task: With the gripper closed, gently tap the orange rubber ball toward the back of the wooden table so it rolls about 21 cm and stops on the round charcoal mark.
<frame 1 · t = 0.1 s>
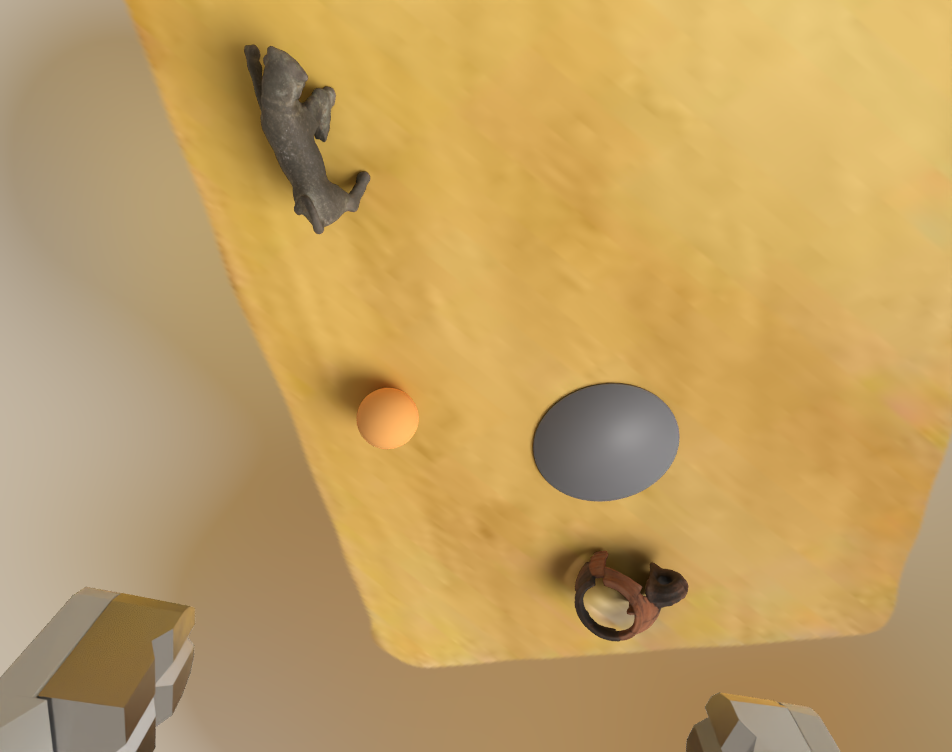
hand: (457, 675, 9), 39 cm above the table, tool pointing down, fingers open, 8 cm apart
dog figurine: (317, 130, 41), on the table
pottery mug: (625, 569, 63), on the table
ball: (387, 418, 50), on the table
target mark: (605, 445, 54), on the table
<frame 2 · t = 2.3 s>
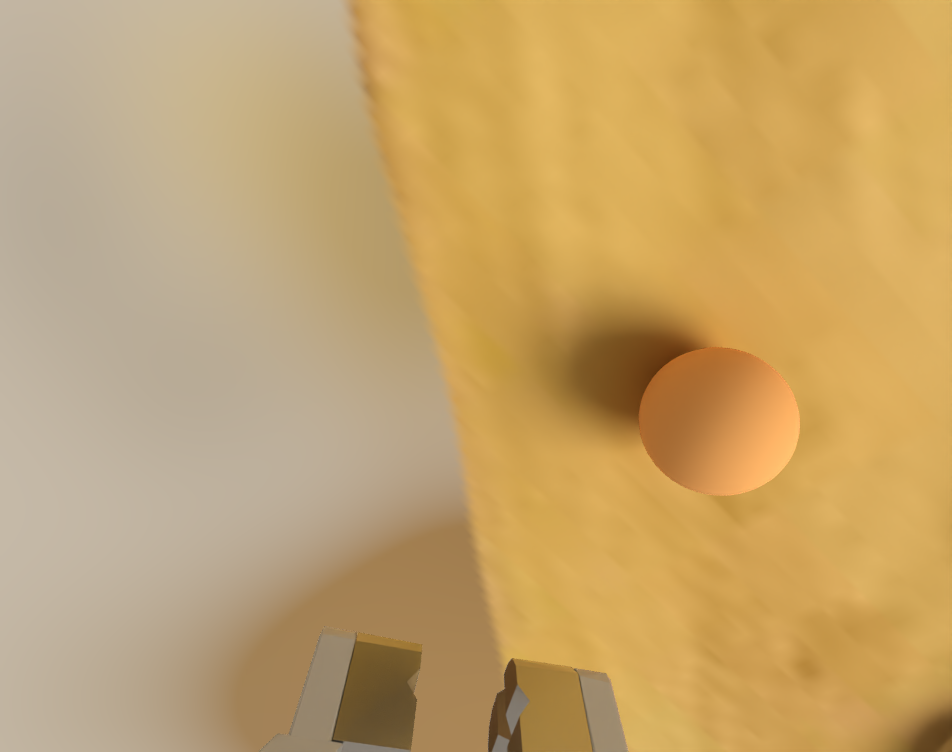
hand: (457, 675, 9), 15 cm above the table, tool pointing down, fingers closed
ball: (715, 420, 21), on the table
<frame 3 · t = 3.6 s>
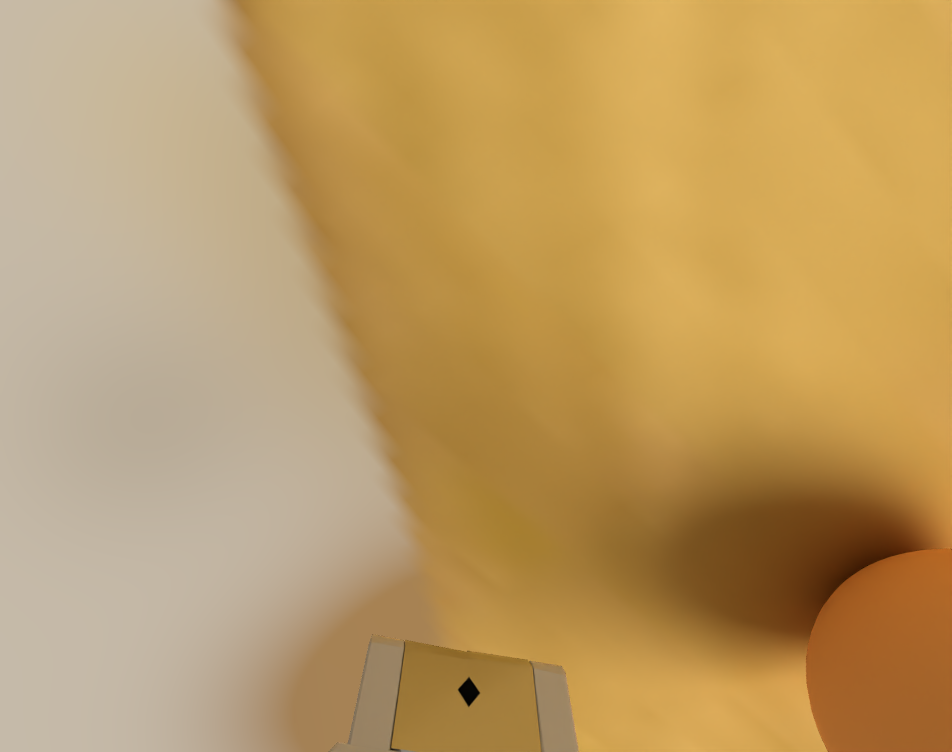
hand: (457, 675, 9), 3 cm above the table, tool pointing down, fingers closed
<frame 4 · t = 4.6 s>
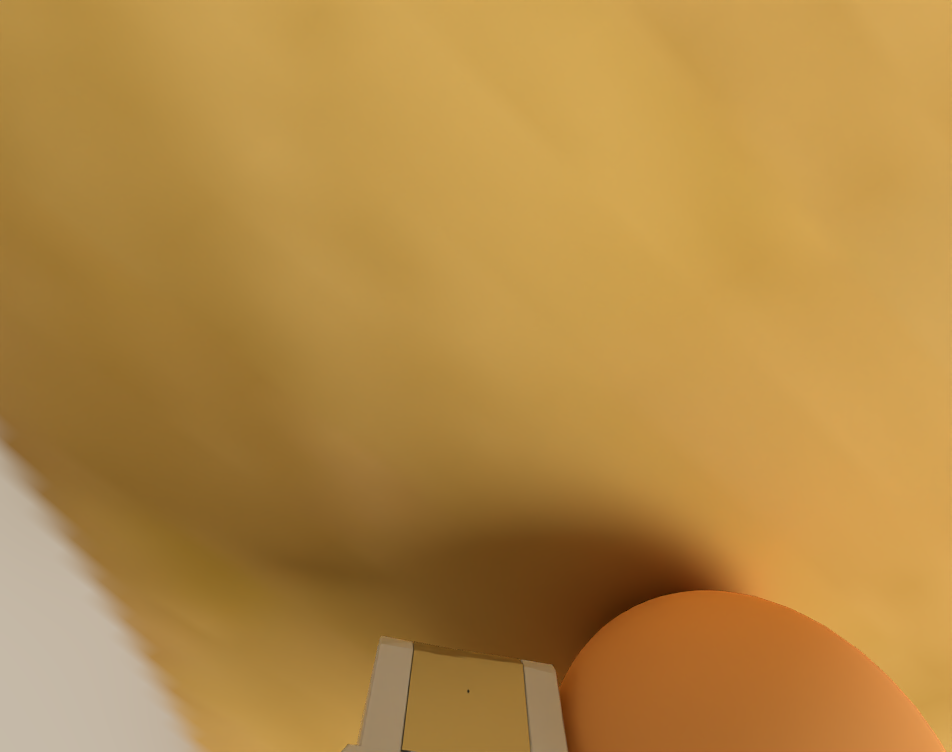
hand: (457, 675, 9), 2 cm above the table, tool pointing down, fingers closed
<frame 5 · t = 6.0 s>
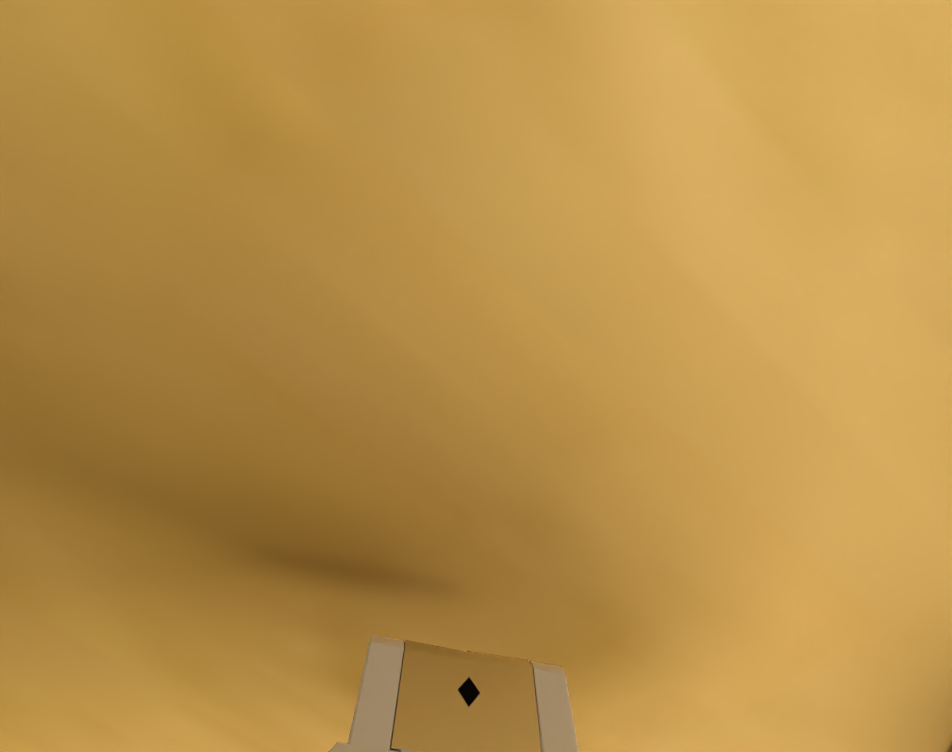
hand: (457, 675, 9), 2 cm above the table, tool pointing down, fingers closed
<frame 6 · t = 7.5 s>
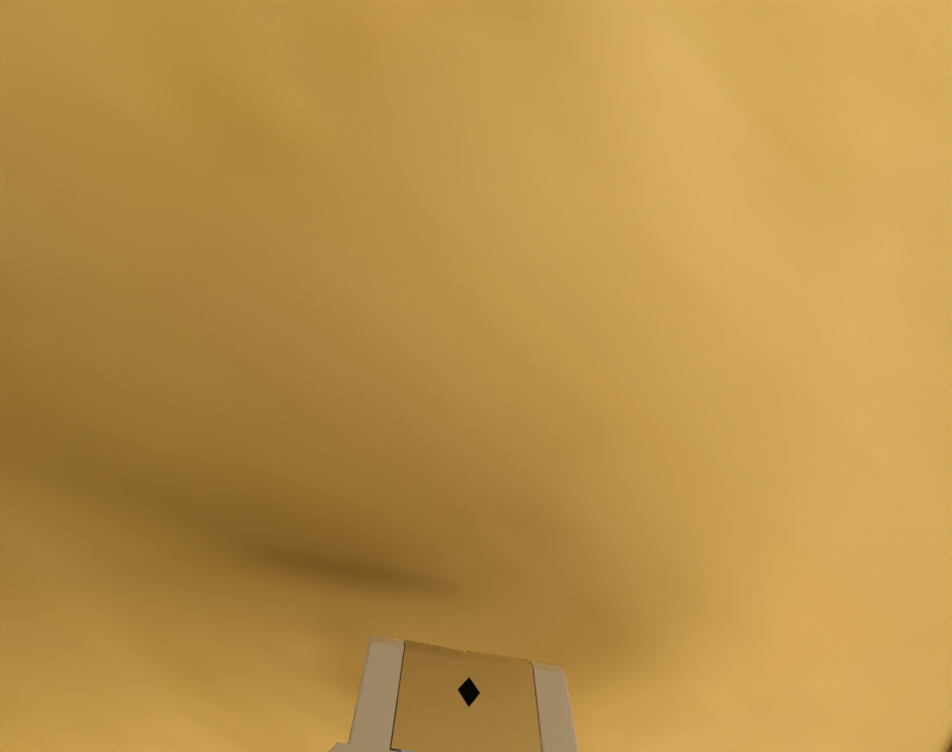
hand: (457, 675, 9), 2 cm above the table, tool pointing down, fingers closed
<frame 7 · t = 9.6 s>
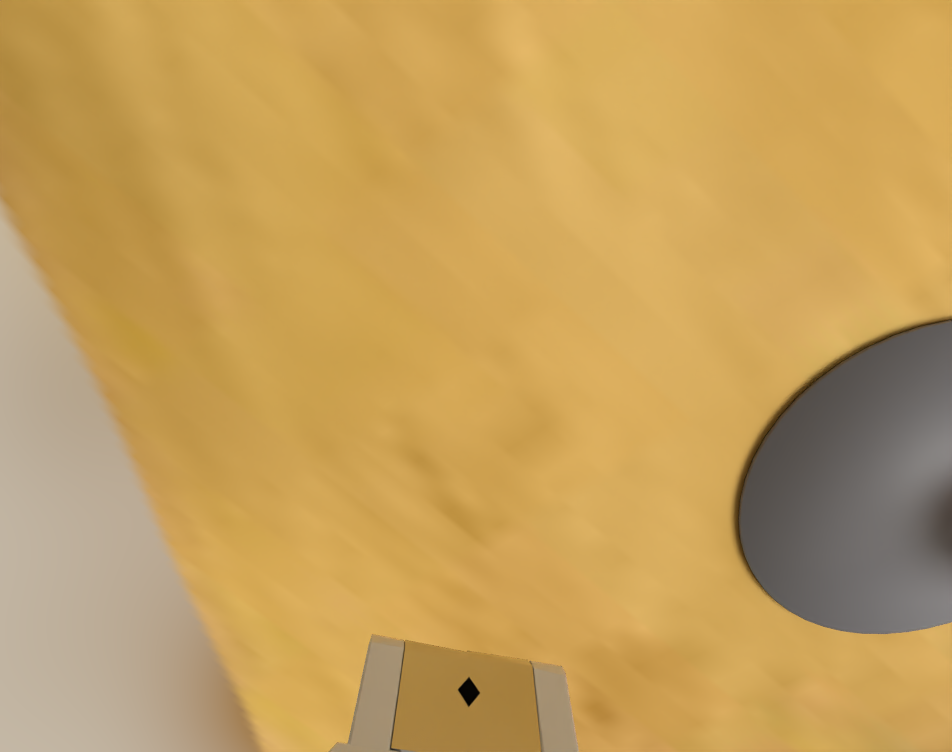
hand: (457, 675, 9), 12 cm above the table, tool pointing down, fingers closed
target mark: (922, 492, 21), on the table
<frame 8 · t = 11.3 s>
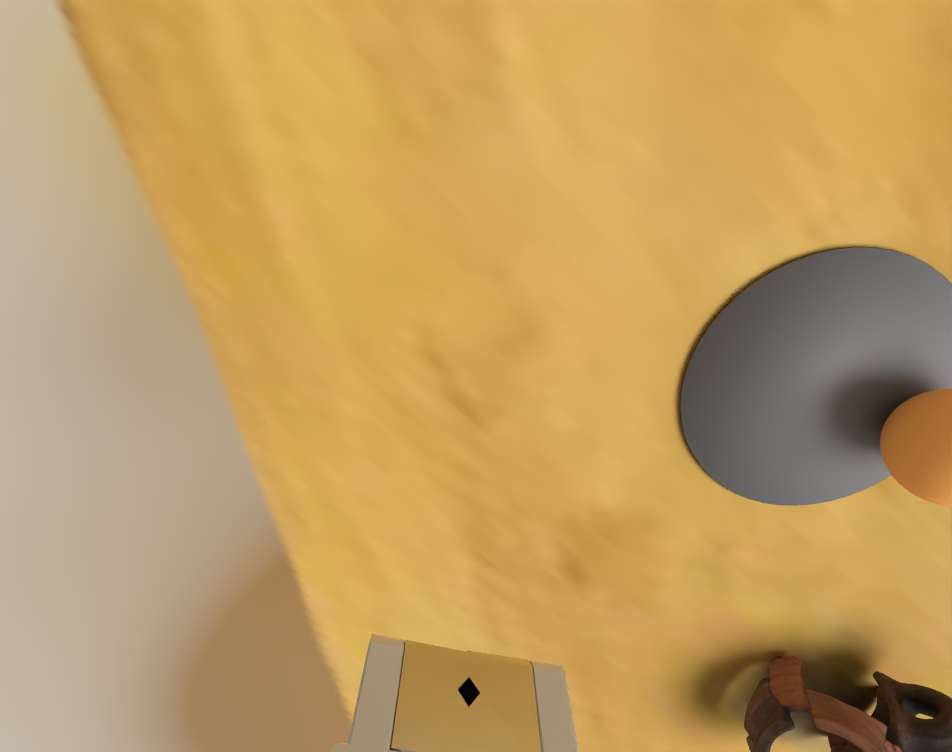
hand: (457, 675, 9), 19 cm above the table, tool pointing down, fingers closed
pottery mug: (821, 683, 37), on the table
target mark: (821, 388, 28), on the table
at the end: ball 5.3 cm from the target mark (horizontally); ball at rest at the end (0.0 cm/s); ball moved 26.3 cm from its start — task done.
